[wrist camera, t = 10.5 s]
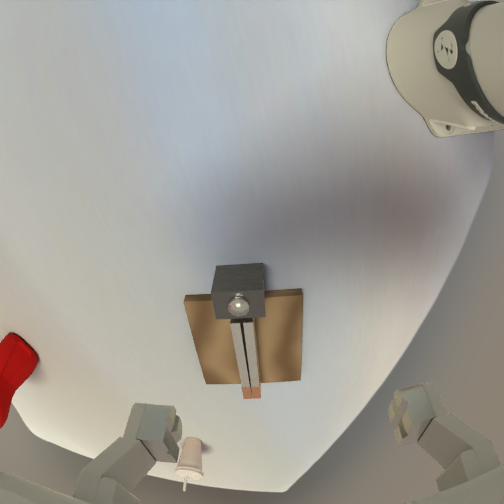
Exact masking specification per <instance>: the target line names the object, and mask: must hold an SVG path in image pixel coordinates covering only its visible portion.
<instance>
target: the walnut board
mask: <svg viewBox="0 0 504 504" xmlns="http://www.w3.org/2000/svg"><path fill="white" fill-rule="evenodd" d="M184 305H185V309H186V313H187V317H188V321H189V325H190V328H191V332H192V336H193V340H194V343H195V347H196V351H197V354H198V358H199V361H200V365H201V368H202V372H203V375H204V378H205V382H206V384H241V379H240V374H239V369H238V364H237V358H236V353H235V348H234V342H233V337H232V331H231V325H230V320H231V319H216V317H215V312H214V306H213V301H212V296H211V294H203V295H186V296H185V299H184ZM265 312H266V317H258V318H255V328H256V338H257V349H258V359H259V367H260V377H261V383H269V382H285V381H298V380H300V379H301V353H302V314H303V294H302V289H289V290H274V291H265Z"/></svg>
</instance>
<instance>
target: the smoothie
mask: <svg viewBox="0 0 504 504" xmlns="http://www.w3.org/2000/svg"><path fill="white" fill-rule="evenodd" d="M175 474H176V475H177V476H179V477H182V478H184V486H183V491H185V490H186V483H187V479H192V480H197V479H201V478H203V472H202V457H201V440H199V439H197V438H194V437H188V438H186V440H185V443H184V446H183V449H182V453H181V456H180V459H179V462H178V465H177V467H176V468H175Z"/></svg>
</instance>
